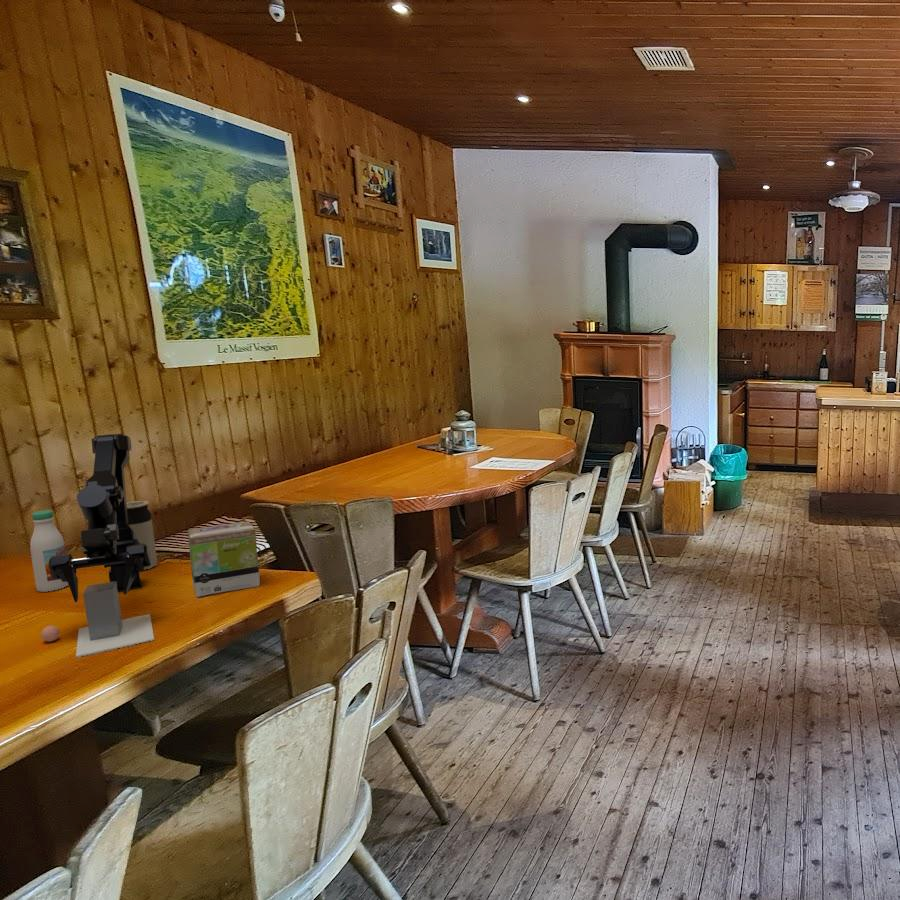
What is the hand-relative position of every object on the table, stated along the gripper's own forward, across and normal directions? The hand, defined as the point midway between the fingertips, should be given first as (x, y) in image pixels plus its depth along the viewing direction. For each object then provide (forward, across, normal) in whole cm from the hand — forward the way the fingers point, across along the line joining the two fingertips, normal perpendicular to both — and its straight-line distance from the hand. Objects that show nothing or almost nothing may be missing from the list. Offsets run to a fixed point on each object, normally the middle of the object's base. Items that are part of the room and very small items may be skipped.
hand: (100, 597), depth 143 cm
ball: (+4, -11, +8) cm, 14 cm away
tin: (+5, 0, +6) cm, 8 cm away
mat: (+6, +2, +6) cm, 9 cm away
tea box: (-9, +24, +21) cm, 33 cm away
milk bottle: (-24, -18, +37) cm, 48 cm away
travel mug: (-29, +2, +42) cm, 51 cm away
